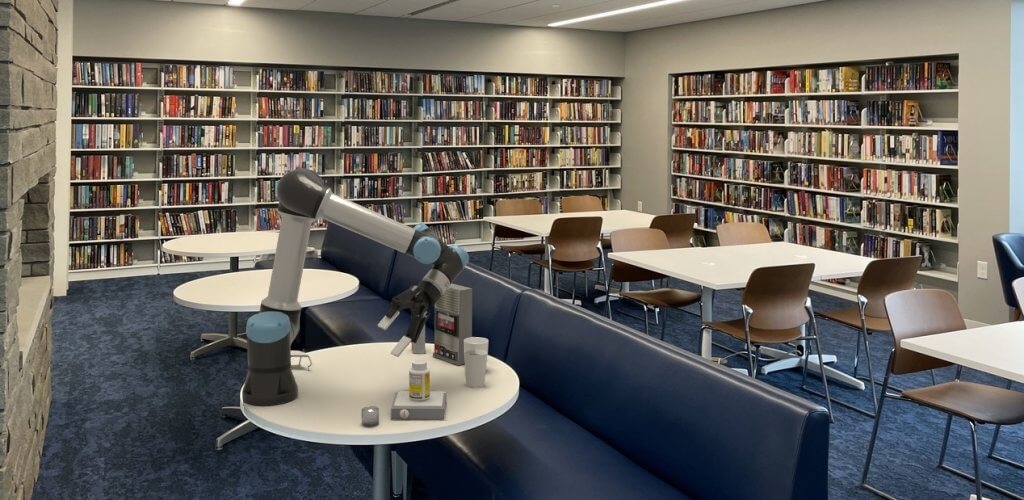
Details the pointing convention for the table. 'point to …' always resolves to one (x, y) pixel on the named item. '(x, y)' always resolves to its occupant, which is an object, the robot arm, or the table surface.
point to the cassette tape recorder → (453, 323)
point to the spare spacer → (370, 416)
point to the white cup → (476, 345)
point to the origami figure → (301, 354)
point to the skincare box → (419, 343)
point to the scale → (419, 407)
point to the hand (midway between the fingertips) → (387, 341)
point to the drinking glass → (475, 368)
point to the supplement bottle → (419, 381)
